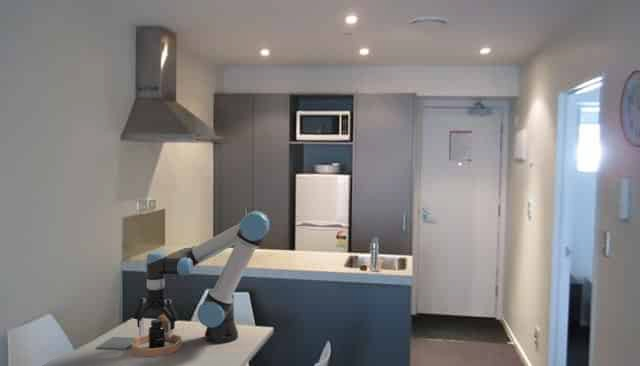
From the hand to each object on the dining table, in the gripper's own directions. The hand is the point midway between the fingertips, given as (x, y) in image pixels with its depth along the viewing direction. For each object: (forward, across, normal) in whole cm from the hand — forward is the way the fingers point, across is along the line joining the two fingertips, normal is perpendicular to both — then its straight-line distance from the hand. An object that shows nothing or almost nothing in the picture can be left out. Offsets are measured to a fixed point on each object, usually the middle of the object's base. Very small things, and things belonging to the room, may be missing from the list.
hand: (156, 335), depth 237 cm
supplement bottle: (+6, 0, 0) cm, 6 cm away
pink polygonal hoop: (+5, 0, 0) cm, 5 cm away
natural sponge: (+6, +4, -17) cm, 18 cm away
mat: (+6, +19, -2) cm, 19 cm away
